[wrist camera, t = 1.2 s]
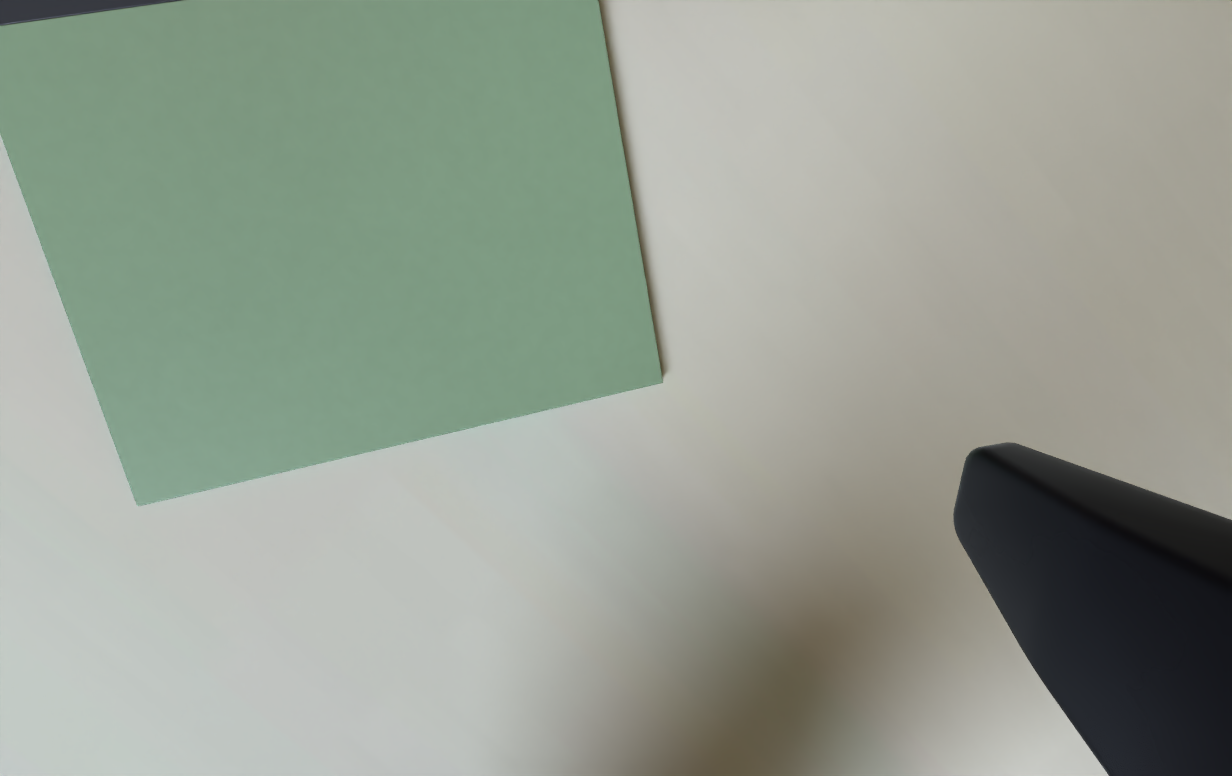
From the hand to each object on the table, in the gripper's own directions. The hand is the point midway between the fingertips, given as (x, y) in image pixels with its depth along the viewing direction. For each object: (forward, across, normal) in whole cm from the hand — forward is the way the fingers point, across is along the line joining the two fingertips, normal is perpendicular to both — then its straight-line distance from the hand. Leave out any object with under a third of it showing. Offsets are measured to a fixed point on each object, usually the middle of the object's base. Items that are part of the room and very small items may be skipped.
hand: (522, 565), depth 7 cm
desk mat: (+15, +2, -4) cm, 16 cm away
